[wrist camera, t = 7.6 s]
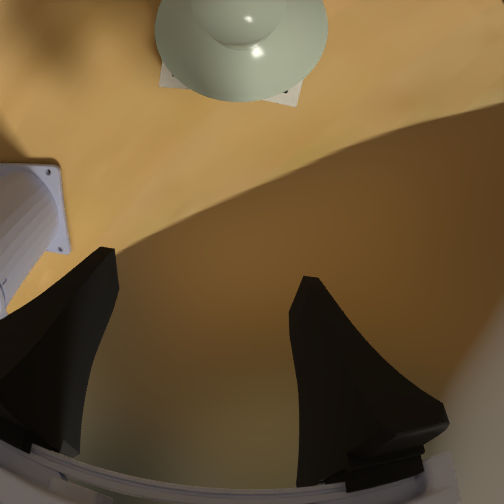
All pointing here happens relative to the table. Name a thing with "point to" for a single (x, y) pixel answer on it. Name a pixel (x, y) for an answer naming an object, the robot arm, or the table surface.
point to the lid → (240, 45)
